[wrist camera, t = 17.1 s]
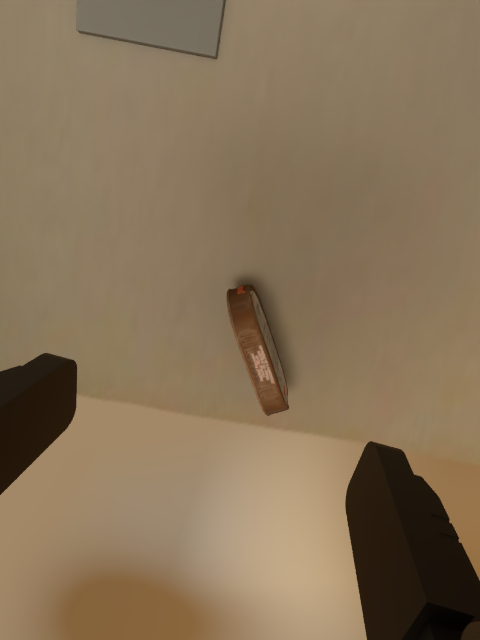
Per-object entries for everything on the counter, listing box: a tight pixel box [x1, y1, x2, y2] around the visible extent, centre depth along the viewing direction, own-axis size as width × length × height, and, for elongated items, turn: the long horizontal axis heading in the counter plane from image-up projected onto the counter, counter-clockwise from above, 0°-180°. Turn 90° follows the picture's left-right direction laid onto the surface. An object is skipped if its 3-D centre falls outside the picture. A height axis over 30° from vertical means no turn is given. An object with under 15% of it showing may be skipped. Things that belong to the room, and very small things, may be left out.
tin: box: [227, 285, 289, 416], centre depth 37 cm, size 15×3×8 cm, turn 19°
